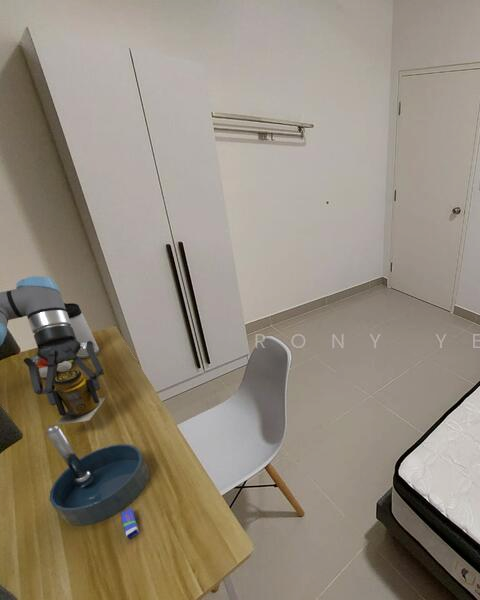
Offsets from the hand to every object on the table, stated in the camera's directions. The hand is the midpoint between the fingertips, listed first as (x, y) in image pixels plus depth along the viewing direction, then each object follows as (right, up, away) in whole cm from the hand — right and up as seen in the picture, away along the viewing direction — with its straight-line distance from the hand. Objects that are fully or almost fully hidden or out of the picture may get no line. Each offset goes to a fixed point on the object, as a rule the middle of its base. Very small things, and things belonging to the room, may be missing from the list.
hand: (80, 408), depth 87 cm
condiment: (-3, -2, +4) cm, 5 cm away
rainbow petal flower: (-33, +5, +25) cm, 42 cm away
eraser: (+26, -21, -15) cm, 37 cm away
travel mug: (-30, +9, +34) cm, 46 cm away
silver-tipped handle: (+10, -15, -9) cm, 20 cm away
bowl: (+15, -17, -9) cm, 24 cm away
